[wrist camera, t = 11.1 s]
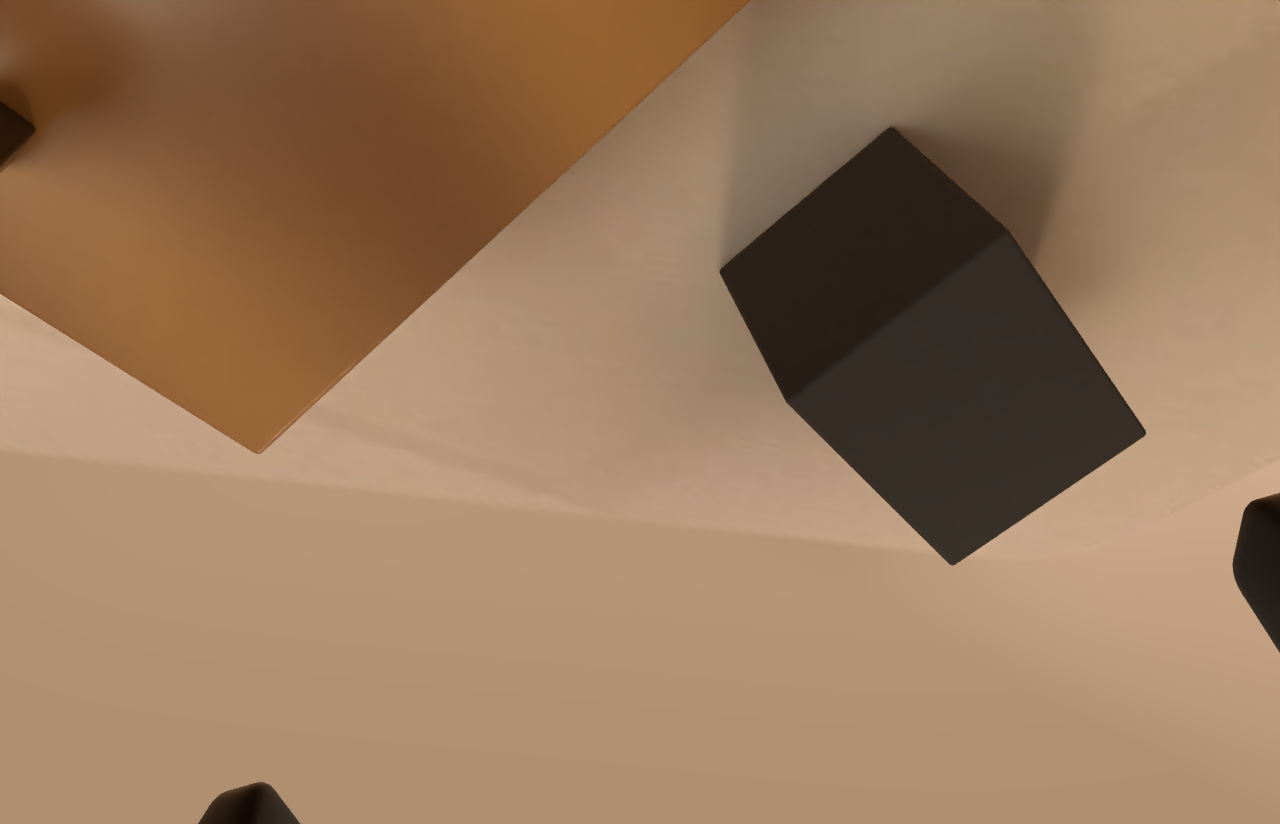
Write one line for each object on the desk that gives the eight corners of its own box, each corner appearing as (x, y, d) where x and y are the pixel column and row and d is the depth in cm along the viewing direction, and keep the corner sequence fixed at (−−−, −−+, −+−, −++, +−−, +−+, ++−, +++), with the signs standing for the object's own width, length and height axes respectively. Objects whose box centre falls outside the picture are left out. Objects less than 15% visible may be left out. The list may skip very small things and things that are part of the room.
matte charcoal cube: (865, 425, 24) (952, 568, 20) (717, 270, 21) (785, 402, 17) (1023, 308, 23) (1149, 435, 19) (890, 124, 20) (1008, 228, 16)
